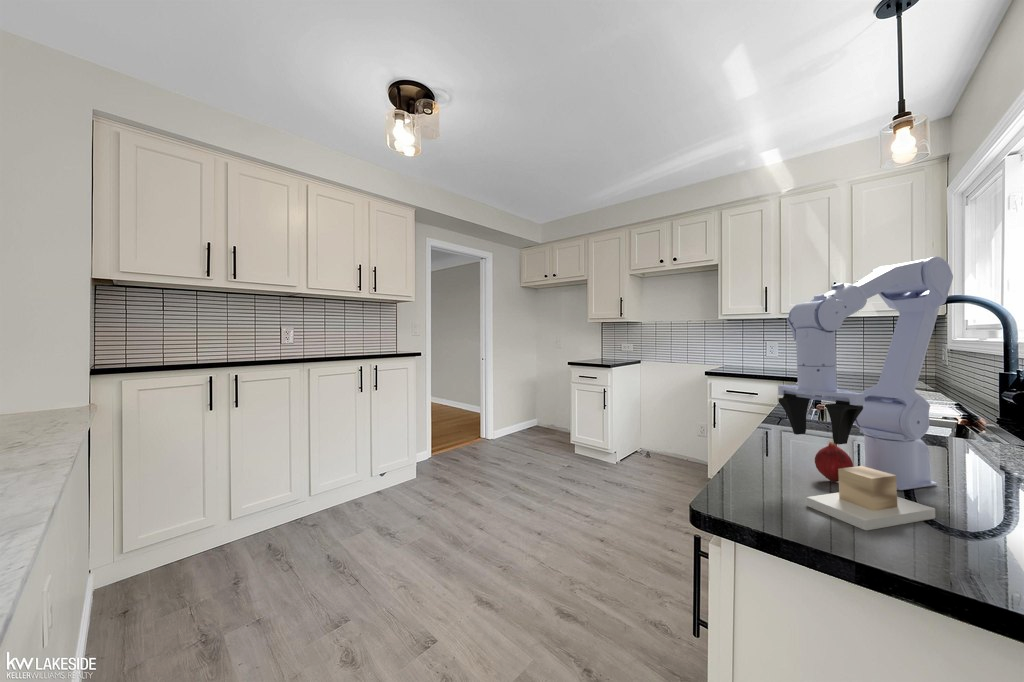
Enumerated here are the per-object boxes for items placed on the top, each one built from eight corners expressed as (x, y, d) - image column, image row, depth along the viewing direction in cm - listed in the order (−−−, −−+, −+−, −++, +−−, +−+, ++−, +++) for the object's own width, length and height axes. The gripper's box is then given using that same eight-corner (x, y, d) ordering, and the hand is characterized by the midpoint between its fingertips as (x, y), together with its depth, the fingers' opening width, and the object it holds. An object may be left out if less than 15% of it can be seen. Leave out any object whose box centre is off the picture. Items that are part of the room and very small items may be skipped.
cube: (862, 495, 66) (861, 465, 66) (897, 507, 61) (896, 475, 61) (839, 498, 64) (838, 468, 65) (873, 510, 60) (871, 478, 60)
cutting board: (870, 496, 68) (870, 487, 68) (935, 518, 60) (935, 508, 60) (806, 505, 65) (806, 497, 65) (865, 530, 57) (865, 520, 57)
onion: (861, 488, 72) (859, 445, 72) (826, 487, 73) (824, 445, 73) (841, 477, 78) (839, 438, 78) (809, 476, 79) (807, 437, 79)
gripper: (764, 364, 77) (767, 431, 77) (840, 368, 63) (843, 450, 63) (793, 363, 79) (795, 428, 79) (873, 366, 65) (876, 446, 65)
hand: (819, 438), depth 71 cm, fingers open, 7 cm apart
